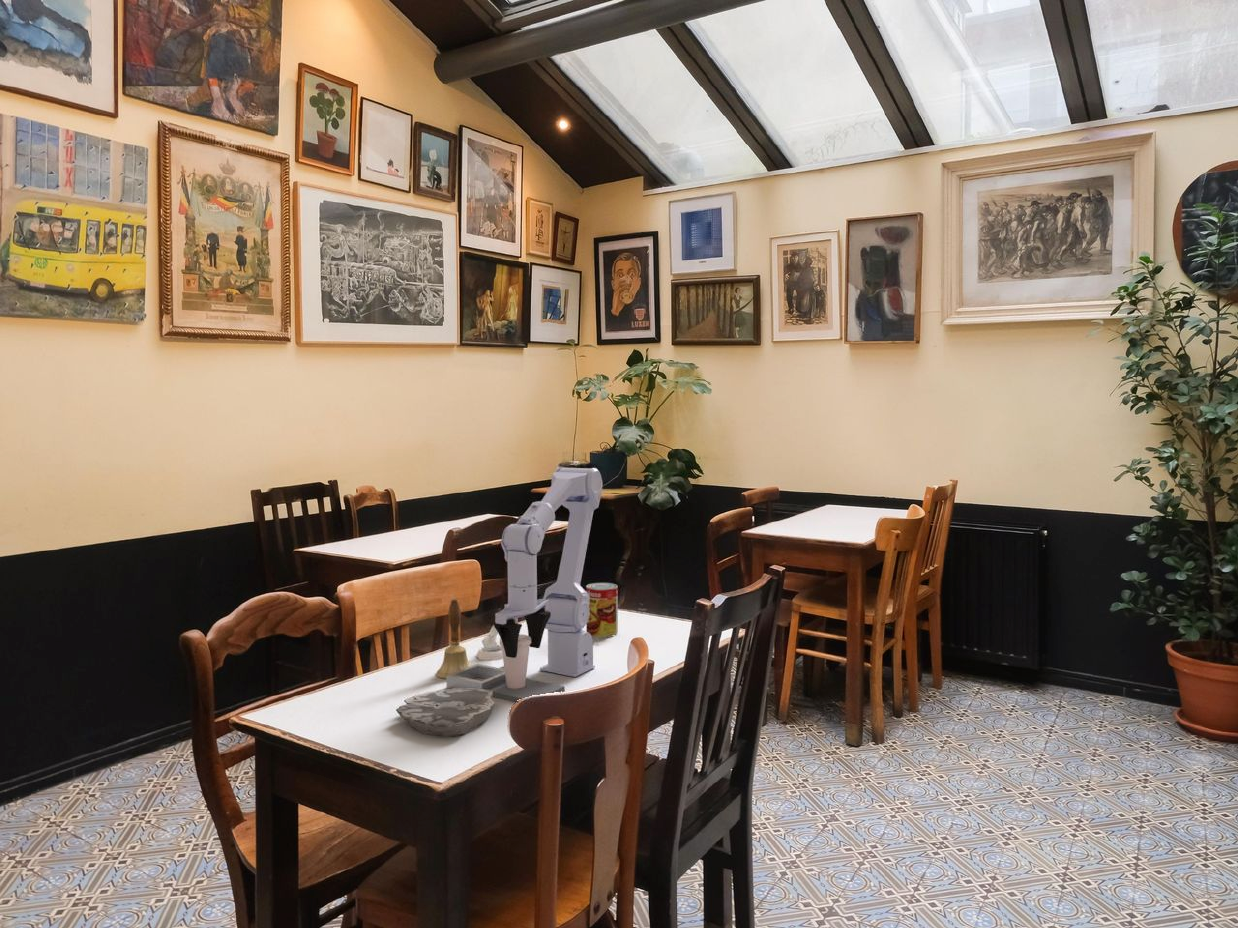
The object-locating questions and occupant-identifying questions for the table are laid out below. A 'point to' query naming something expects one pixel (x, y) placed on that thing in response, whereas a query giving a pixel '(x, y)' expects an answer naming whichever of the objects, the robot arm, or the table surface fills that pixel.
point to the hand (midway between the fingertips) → (523, 651)
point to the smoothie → (517, 662)
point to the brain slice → (448, 710)
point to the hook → (490, 647)
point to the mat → (526, 690)
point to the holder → (467, 675)
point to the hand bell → (453, 646)
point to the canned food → (602, 609)
